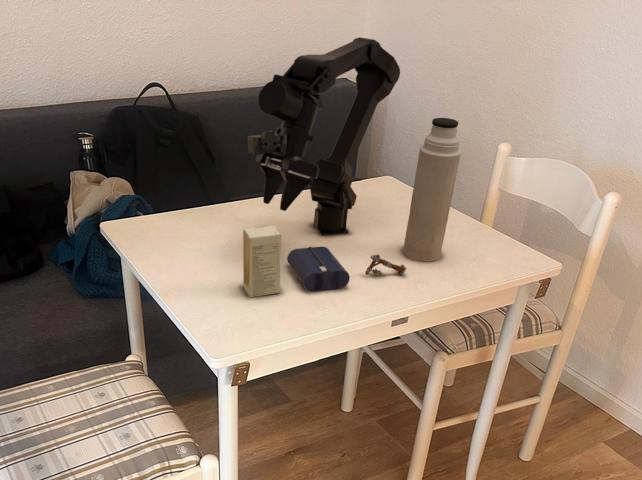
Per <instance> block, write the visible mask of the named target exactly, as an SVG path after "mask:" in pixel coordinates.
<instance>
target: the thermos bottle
mask: <svg viewBox="0 0 642 480" xmlns="http://www.w3.org/2000/svg"><path fill="white" fill-rule="evenodd" d="M431 124H432V126H431V130H430V133H428V134H426V135H425V138H424V140H423V145H421V146H420V148H419V152H418V157H417V163H416V164H417V165H416V170H415V176H414V181H413V182H414V183H413V188H412V194H411V199H410V207H409V215H408V220H407V224H406V231H405V237H404V243H403V249H402V252H403V255H404V256H405V257H407V258H409V259H412V260H414V261H417V262H418V261H419V262H435V261H437V260H439V259H440V258H441V256H442V255H441V254H442V250H443V245H444V239H445V236H446V230H447V225H448V219H449V215H450V210H451V204H452V200H453V196H454V195H453V194H454V190H455V185H456V181H457V175H458V170H459V165H460V160H461V156H462V151H461V149H460V148H459V147H460V145H461V144H460V141H461V140H460V138H459V137H458V136H457V133H458V127H459V121H458V120H456V119H453V118H449V117H435V118H433V119H432V120H431Z"/></svg>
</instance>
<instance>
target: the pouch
mask: <svg viewBox="0 0 642 480" xmlns="http://www.w3.org/2000/svg"><path fill="white" fill-rule="evenodd" d="M286 260H287V263H288V265H289V266H290V268H291V269H292V271H293V272H294V274H295V275H296V276H297V278H298V280H299V281H300V283H301V284H302V285H303V287H304V289H305V290H306V291H308V292H309V293H310V292H311V293H315V292H324V291H333V290H334V291H335V290H342V289H344V288H345V287H347V285H348V284H349V283H350V277H351V276H350V274H349V272H348V271H347V269H345V268H344V266H343V265H342V264H341V262H340V261H339V260H338V258H337V257H336V256H335V255H334V254H333V253H332V251H331V250H330V249H329V248H328V247H326V246H323V245H322V246H313V247H312V246H308V247H300V248H299V247H298V248H294V249H292V250H290V251H289V253H288V255H287V258H286Z"/></svg>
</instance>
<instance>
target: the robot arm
mask: <svg viewBox="0 0 642 480" xmlns="http://www.w3.org/2000/svg"><path fill="white" fill-rule="evenodd" d="M352 70H355V72H356V73H357V74H356V77H355V84H356V95H355V98H354V100H353V103H352V105H351V107H350V109H349V112H348V113H347V117H346V119H345V121H344V124H343V126H342V128H341V131H340V133H339V135H338V137H337V140H336V142H335V144H334V147H333V149H332V151H331V154H330V156H328V157H327V158H326V159H323V158H320V159H319V160H318V161H317V162H316V161H314V160H310V159H308V158H307V157H305V154H306V150H307V146H308V143H313V140H314V136H313V135H312V136H311V133H312V129H313V126H314V123H315V119H316V116H317V113H318V112H317V111H318V110H323V109H324V108H325V105H324V102H323V100H322V99H321V98H322V97H321V95H320V94H324V93H326V92H328V90H330V89H331V88H332V87H333V86H334V85H336V82H337V78H338V77H340V76H342V75H344V74H346V73H348V72H350V71H352ZM400 75H401V68H400V65H399V64H398V62H397V60H396V58H395V57H394V56H393V55H392V54H391V53H389V52H388V51H387V50H386V49H384V48H383V47H382V45H381V43H380V42H379V41H378V40H376V39H372V38H368V37H359V36H358V37H355V38H354V39H353V40H352V41H351V42H348V43H346V44H344V45H342V46H339V47H337V48H335V49H333V50H330V51H328V52H326V53H322V54H304V55H299V56H297V57H296V58H295V59H294V62H293V63H292V64H291V65H290V67H289V68H288V69H287V70H286V71H285V72H284V73H283V75H280V74H277V73H275V74H274V75H273V76H272V77H273V78H272V80H271V81H269V82H267V83H265V85H264V86H263V87H262V88H261V90H260V91H259V94H258V105H259V108H260V110H261V111H262V112H263V113H265V114H267V115H270V116H271V117H274V118H276V119H279V120H281V121H282V123H281V126H277V127H276V128H275V130H274V131H272V130H269V131H262V133H261V134H257V135H255V134H254V135H248V136H247V153H248V154H249V155H250V154H252V155H253V156H254V155H256V158H255V162H256V163H257V164H256V165H257V167H258V168H259V170H260V172H261V173H262V176H263V177H262V178H263V203H264V204H266V205H269V204H270V203H271V202H272V200H273V198H274V197H275V195H276V193H277V192H278V190H279V188H280V187H281V185H282V184H283V186H282V190H281V191H282V192H281V198H280V203H279V204H280V206H279V210H280V211H284V212H285V211H287V210H288V208H289V207H290V206H291V205H293V202H295V200H296V199H297V198H298V197H299V195H301V193H302V192H303V191H304V190H305V189H306V188H307V187H308V186H309V191H310V197H311V201H312V202H316V203H317V205H316V208H315V209H314V216H313V222H312V225H313V227H314V228H315V229H316V230H317V231H318V232H319V234H320V235H321V236H330V235H342V234H349V229H348V228H347V221H348V212H349V210H353V207H354V206H355V205H356V201H357V197H358V196H357V194H356V193H355V191H354V190H353V188H352V187H351V186H352V183H353V181H354V180H353V179H354V178H353V172H352V171H353V170H352V165H353V161H354V160H355V157H356V155H357V153H358V150H359V148H360V146H361V143H362V141H363V138H364V136H365V134H366V132H367V130H368V127H369V125H370V123H371V120H372V119H373V116H374V113H375V111H376V109H377V106H378V104H379V103H380V102H381V101H383V100H384V99H385V98H387V97H388V96H389V95H390V94H391V93H392V91H393V89H394V87H395V85H396V84H397V82H398V81H399V79H400Z"/></svg>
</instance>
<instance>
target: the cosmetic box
mask: <svg viewBox="0 0 642 480" xmlns="http://www.w3.org/2000/svg"><path fill="white" fill-rule="evenodd" d="M242 233H243V234H242V235H243V237H242V240H243V241H242V242H243V243H242V246H243V247H242V250H243V251H242V254H243V257H242V258H243V262H242V265H243V266H242V267H243V268H242V269H243V275H242V276H243V277H242V278H243V285H242V286H243V289H244V291H245V293H246V294H247V296H248V298H253V297H261V296H267V295H274V294H279V293H280V292H281V264H282V263H281V261H282V257H281V256H282V233H281V231H279V229H278V228H277V227H276V226H275V224H273V225H263V226H255V227H247V228H243V231H242Z"/></svg>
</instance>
